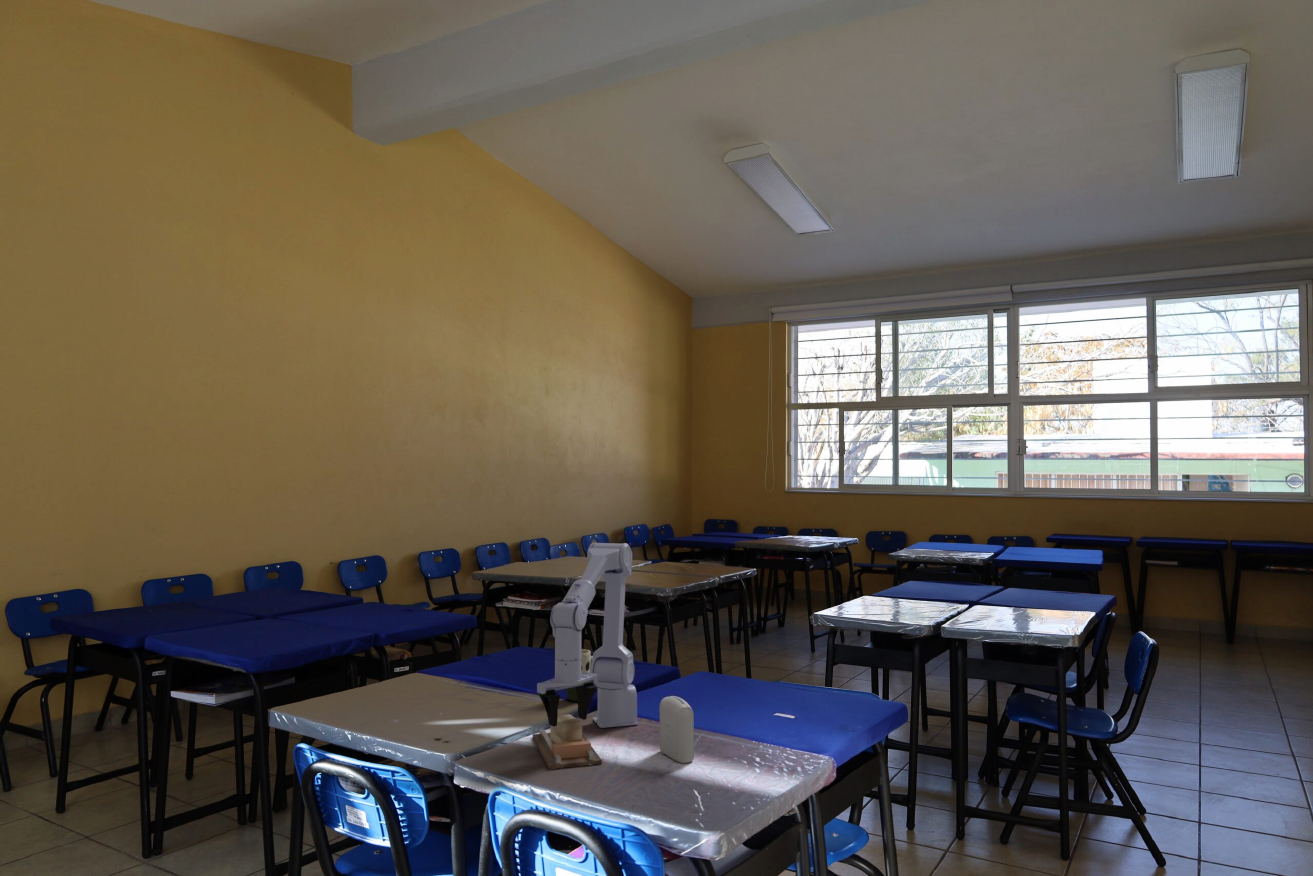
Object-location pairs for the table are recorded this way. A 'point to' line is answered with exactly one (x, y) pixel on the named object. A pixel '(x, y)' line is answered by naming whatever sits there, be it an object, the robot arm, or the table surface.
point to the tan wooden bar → (571, 749)
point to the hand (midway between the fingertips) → (567, 722)
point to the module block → (566, 730)
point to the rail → (556, 755)
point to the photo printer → (677, 729)
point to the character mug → (585, 669)
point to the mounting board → (564, 761)
